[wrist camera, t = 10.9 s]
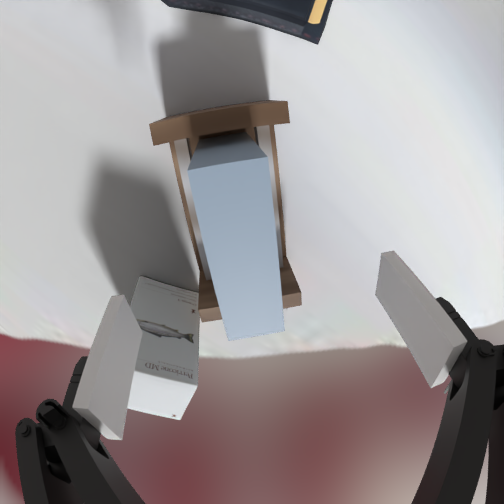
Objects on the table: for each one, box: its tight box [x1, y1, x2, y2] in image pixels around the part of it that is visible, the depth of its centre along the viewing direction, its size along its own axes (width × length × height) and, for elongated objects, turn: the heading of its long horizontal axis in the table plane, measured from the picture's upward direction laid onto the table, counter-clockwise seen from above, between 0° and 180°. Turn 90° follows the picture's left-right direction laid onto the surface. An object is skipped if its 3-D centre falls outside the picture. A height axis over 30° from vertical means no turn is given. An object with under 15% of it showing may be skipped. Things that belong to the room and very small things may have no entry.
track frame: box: [149, 100, 302, 322], centre depth 24 cm, size 17×9×7 cm, turn 7°
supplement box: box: [127, 276, 200, 420], centre depth 27 cm, size 7×7×13 cm
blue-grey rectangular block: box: [187, 132, 285, 341], centre depth 21 cm, size 12×4×11 cm, turn 7°
